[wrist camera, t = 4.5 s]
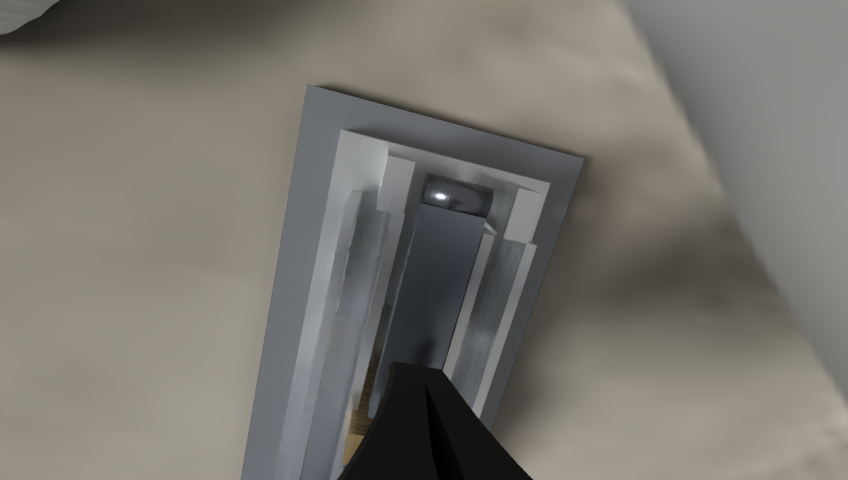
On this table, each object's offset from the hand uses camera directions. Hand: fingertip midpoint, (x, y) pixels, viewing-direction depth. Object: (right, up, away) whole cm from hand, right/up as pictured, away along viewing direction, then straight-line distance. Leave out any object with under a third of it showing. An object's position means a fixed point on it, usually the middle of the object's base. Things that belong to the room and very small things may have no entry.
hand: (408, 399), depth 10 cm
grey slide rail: (-1, -1, +5) cm, 5 cm away
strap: (0, +2, +1) cm, 3 cm away
